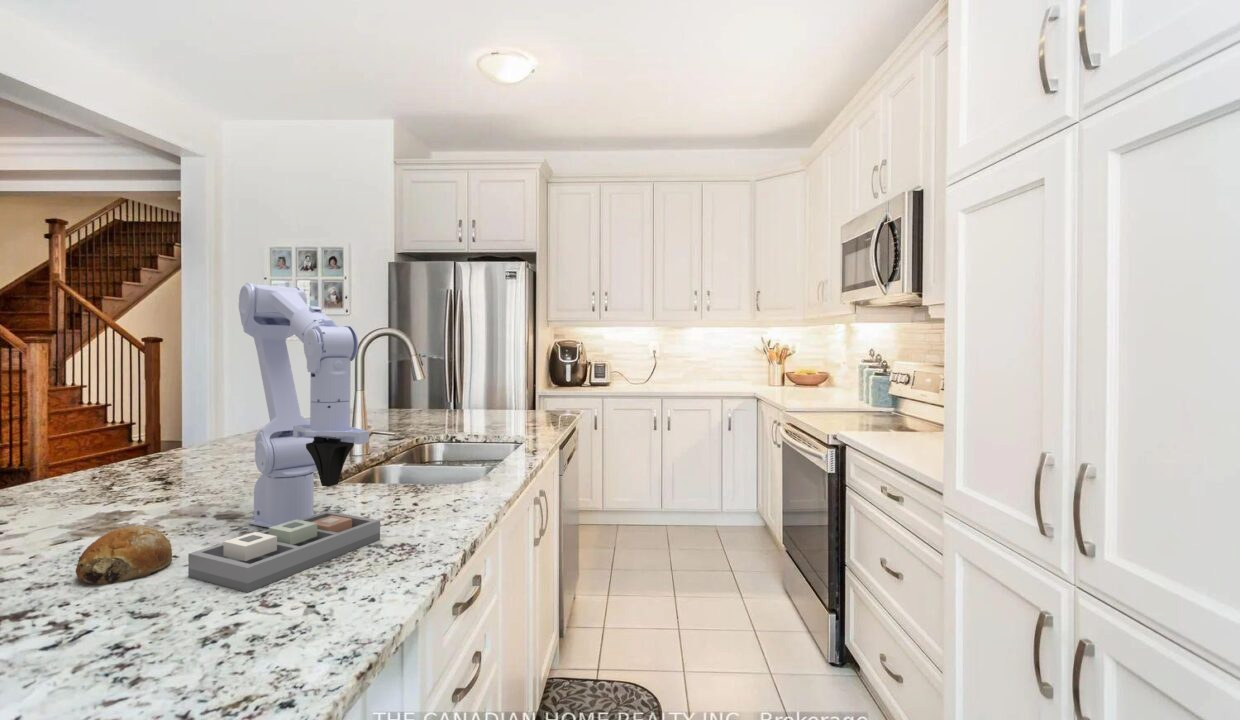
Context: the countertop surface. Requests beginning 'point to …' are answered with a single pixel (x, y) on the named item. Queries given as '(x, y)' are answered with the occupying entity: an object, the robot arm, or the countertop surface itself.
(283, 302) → the robot arm
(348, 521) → the key terracotta
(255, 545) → the key offwhite
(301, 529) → the key sage
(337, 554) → the grey compartment tray
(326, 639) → the countertop surface
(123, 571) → the bread roll
